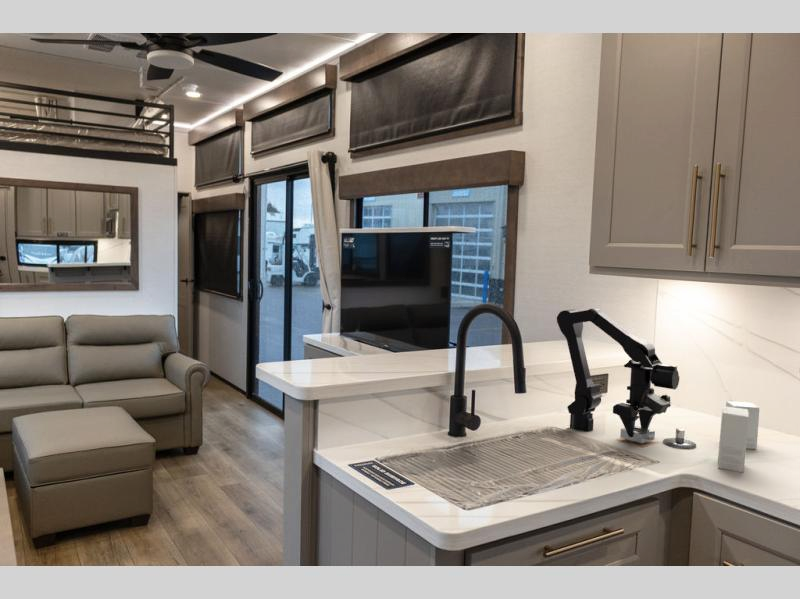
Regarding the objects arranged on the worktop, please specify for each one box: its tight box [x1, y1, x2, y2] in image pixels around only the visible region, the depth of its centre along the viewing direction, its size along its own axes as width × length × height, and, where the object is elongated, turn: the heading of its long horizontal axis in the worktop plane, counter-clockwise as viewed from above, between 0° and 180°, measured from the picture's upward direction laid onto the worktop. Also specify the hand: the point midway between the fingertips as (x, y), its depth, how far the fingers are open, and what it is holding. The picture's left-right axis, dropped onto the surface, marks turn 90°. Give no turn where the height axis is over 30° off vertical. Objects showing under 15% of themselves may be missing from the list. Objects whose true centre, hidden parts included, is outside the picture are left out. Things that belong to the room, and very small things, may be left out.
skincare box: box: [717, 405, 749, 473], centre depth 172 cm, size 8×7×16 cm
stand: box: [615, 429, 660, 448], centre depth 190 cm, size 9×9×4 cm
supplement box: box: [725, 400, 760, 450], centre depth 192 cm, size 7×7×13 cm
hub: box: [662, 427, 697, 450], centre depth 188 cm, size 9×9×6 cm
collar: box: [620, 425, 656, 443], centre depth 190 cm, size 7×7×3 cm
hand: (637, 434), depth 190 cm, fingers closed on collar, 7 cm apart
